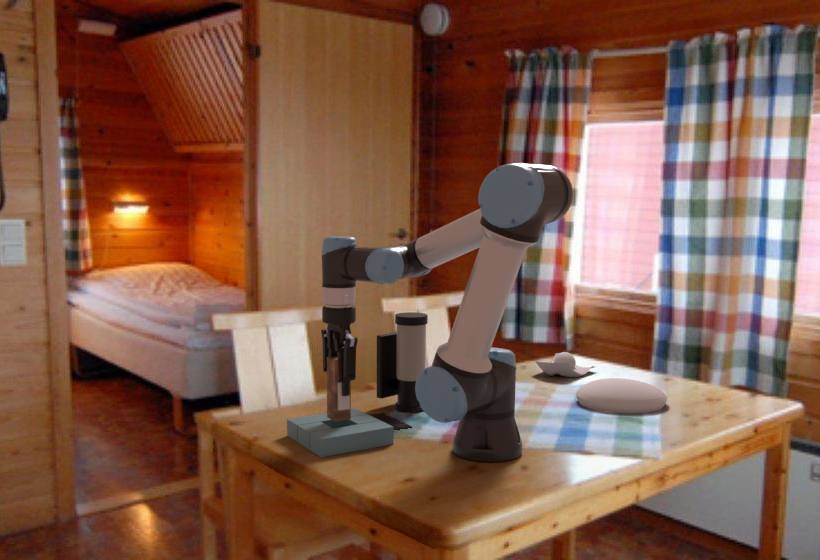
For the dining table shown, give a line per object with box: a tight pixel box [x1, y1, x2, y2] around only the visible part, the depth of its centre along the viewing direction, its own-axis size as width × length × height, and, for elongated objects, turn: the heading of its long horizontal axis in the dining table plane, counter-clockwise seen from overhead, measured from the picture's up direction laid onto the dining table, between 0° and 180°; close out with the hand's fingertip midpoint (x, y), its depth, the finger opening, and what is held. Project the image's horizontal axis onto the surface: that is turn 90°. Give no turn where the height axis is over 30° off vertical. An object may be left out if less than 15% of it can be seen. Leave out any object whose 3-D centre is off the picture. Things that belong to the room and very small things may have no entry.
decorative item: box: [575, 377, 668, 414], centre depth 225 cm, size 24×7×20 cm
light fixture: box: [376, 311, 429, 414], centre depth 219 cm, size 12×11×25 cm
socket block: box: [286, 408, 395, 458], centre depth 192 cm, size 18×18×4 cm
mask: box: [533, 351, 597, 378], centre depth 260 cm, size 20×8×15 cm
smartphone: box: [369, 412, 413, 431], centre depth 206 cm, size 7×1×15 cm
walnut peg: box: [326, 356, 352, 421], centre depth 191 cm, size 4×4×14 cm
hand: (338, 406), depth 191 cm, fingers closed on walnut peg, 4 cm apart
